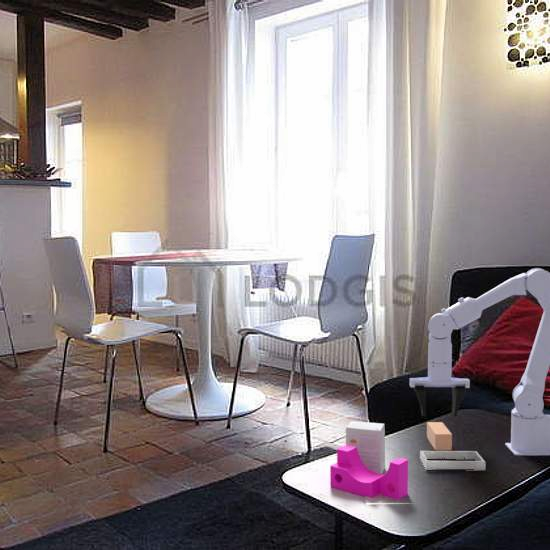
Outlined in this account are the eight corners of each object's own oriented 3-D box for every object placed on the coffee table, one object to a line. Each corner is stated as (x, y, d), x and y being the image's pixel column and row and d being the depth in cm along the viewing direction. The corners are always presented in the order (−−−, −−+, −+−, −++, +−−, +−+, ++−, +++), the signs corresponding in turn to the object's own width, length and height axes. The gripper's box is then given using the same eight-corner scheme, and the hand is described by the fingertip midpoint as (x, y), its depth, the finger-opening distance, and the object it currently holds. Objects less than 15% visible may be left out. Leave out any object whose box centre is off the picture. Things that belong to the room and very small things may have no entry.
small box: (385, 468, 147) (385, 423, 146) (381, 477, 141) (381, 430, 141) (350, 464, 149) (351, 420, 149) (345, 473, 144) (345, 427, 143)
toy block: (330, 486, 137) (330, 452, 137) (346, 477, 142) (346, 444, 141) (392, 505, 128) (392, 468, 127) (407, 495, 132) (407, 459, 132)
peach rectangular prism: (442, 441, 166) (442, 422, 166) (451, 454, 156) (452, 434, 156) (426, 441, 167) (426, 422, 166) (435, 454, 157) (435, 434, 156)
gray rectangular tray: (476, 461, 151) (476, 451, 151) (485, 473, 144) (485, 462, 144) (419, 461, 151) (419, 450, 151) (425, 472, 144) (425, 461, 144)
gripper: (465, 358, 164) (464, 411, 165) (407, 358, 164) (407, 410, 165) (472, 364, 157) (471, 419, 158) (412, 364, 157) (411, 418, 158)
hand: (438, 415), depth 161 cm, fingers open, 7 cm apart
